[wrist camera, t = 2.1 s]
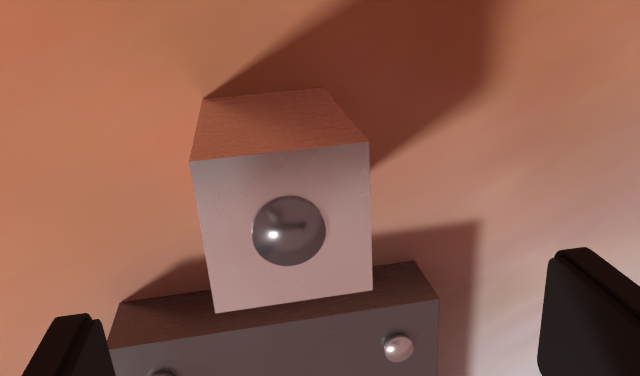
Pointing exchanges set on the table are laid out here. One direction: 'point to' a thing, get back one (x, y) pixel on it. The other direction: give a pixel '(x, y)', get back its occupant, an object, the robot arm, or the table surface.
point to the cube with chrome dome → (281, 198)
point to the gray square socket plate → (285, 333)
